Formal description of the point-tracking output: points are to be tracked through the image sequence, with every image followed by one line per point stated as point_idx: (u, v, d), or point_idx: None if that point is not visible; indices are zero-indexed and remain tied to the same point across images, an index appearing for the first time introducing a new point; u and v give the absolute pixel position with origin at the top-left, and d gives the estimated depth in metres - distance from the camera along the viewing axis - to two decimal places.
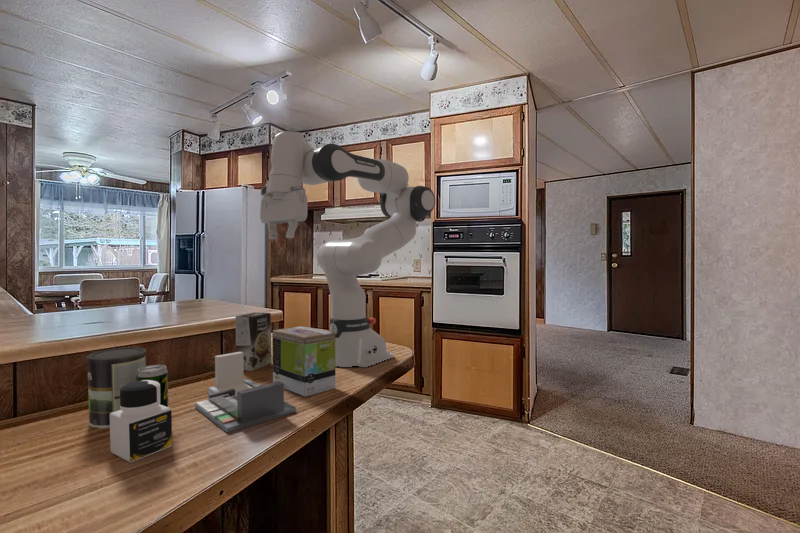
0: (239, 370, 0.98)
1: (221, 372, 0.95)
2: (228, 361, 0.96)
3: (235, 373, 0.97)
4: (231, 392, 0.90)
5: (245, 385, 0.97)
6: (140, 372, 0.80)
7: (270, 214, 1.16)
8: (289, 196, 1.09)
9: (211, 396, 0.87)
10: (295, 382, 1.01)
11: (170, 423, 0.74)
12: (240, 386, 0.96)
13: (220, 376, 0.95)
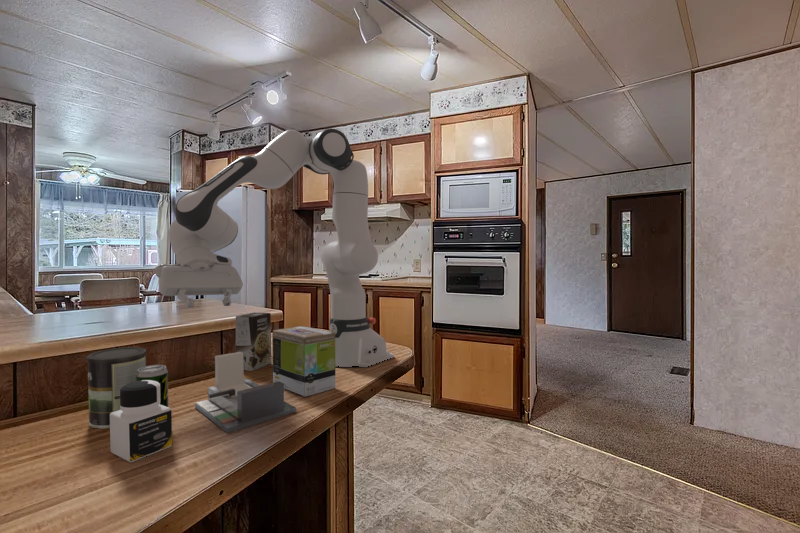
0: (239, 370, 0.98)
1: (221, 372, 0.95)
2: (228, 361, 0.96)
3: (235, 373, 0.97)
4: (231, 392, 0.90)
5: (245, 385, 0.97)
6: (140, 372, 0.80)
7: None
8: None
9: (211, 396, 0.87)
10: (295, 382, 1.01)
11: (170, 423, 0.74)
12: (240, 386, 0.96)
13: (220, 376, 0.95)
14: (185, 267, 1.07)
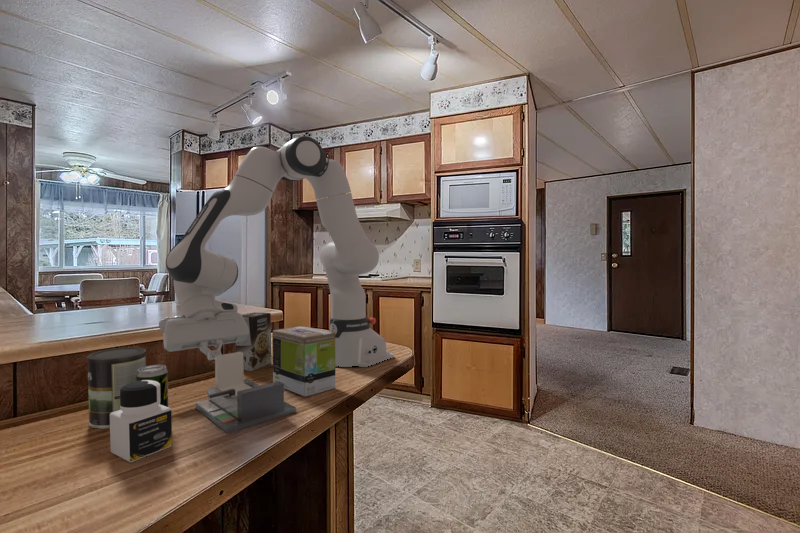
0: (239, 370, 0.98)
1: (221, 372, 0.95)
2: (228, 361, 0.96)
3: (235, 373, 0.97)
4: (231, 392, 0.90)
5: (245, 385, 0.97)
6: (140, 372, 0.80)
7: None
8: None
9: (211, 396, 0.87)
10: (295, 382, 1.01)
11: (170, 423, 0.74)
12: (240, 386, 0.96)
13: (220, 376, 0.95)
14: (189, 319, 1.04)
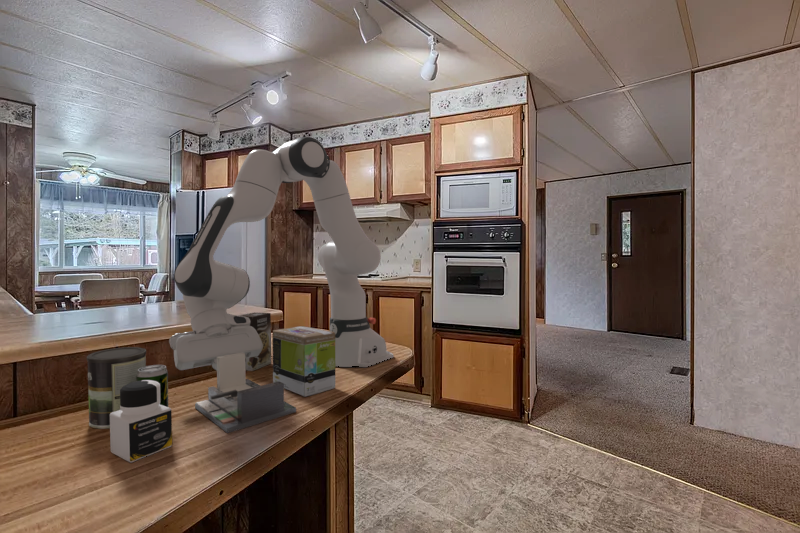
0: (241, 371, 0.97)
1: (223, 373, 0.94)
2: (230, 362, 0.95)
3: (237, 374, 0.97)
4: (233, 393, 0.89)
5: (247, 386, 0.96)
6: (140, 372, 0.80)
7: None
8: None
9: (213, 397, 0.86)
10: (295, 382, 1.01)
11: (170, 423, 0.74)
12: (242, 387, 0.96)
13: (222, 377, 0.94)
14: (201, 334, 0.99)
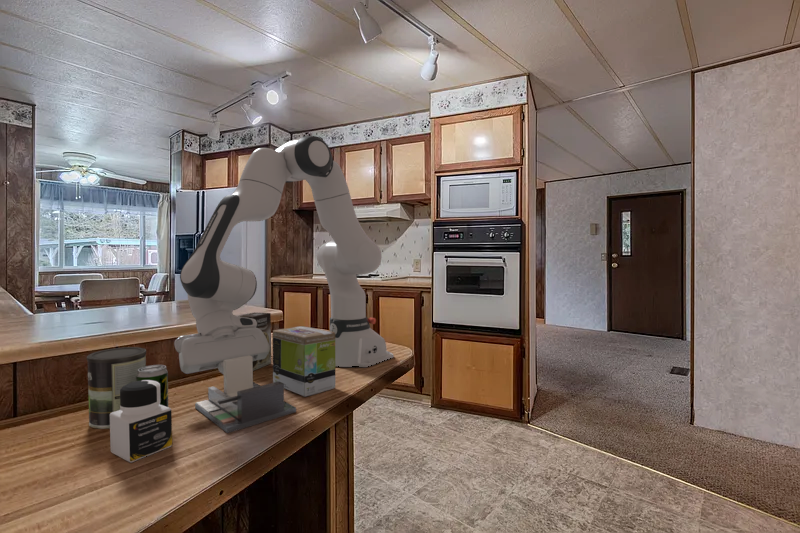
0: (249, 375, 0.95)
1: (230, 377, 0.92)
2: (237, 365, 0.93)
3: (244, 377, 0.94)
4: None
5: None
6: (140, 372, 0.80)
7: None
8: None
9: (220, 402, 0.84)
10: (295, 382, 1.01)
11: (170, 423, 0.74)
12: None
13: (229, 381, 0.91)
14: (207, 337, 0.97)
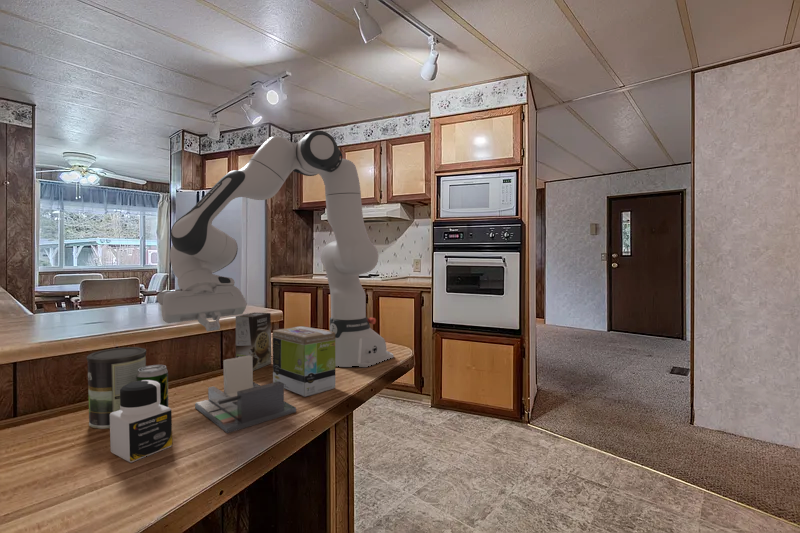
0: (249, 375, 0.95)
1: (230, 377, 0.92)
2: (237, 365, 0.93)
3: (244, 377, 0.94)
4: None
5: None
6: (140, 372, 0.80)
7: None
8: None
9: (220, 402, 0.84)
10: (295, 382, 1.01)
11: (170, 423, 0.74)
12: None
13: (229, 381, 0.91)
14: (187, 292, 1.06)
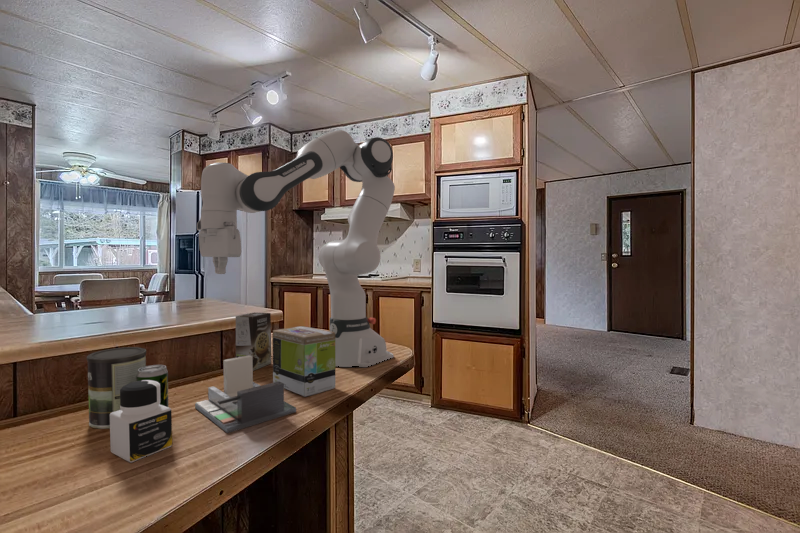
0: (249, 375, 0.95)
1: (230, 377, 0.92)
2: (237, 365, 0.93)
3: (244, 377, 0.94)
4: None
5: None
6: (140, 372, 0.80)
7: (208, 249, 1.14)
8: (221, 233, 1.07)
9: (220, 402, 0.84)
10: (295, 382, 1.01)
11: (170, 423, 0.74)
12: None
13: (229, 381, 0.91)
14: None
